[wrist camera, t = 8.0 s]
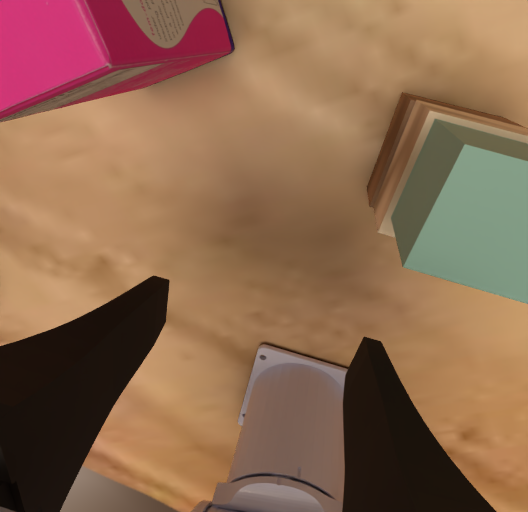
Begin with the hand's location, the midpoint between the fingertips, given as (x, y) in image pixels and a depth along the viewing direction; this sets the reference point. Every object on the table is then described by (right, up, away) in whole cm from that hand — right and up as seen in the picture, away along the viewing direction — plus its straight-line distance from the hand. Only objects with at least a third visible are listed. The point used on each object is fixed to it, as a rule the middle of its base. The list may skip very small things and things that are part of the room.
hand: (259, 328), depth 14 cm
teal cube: (+8, +5, +1) cm, 9 cm away
